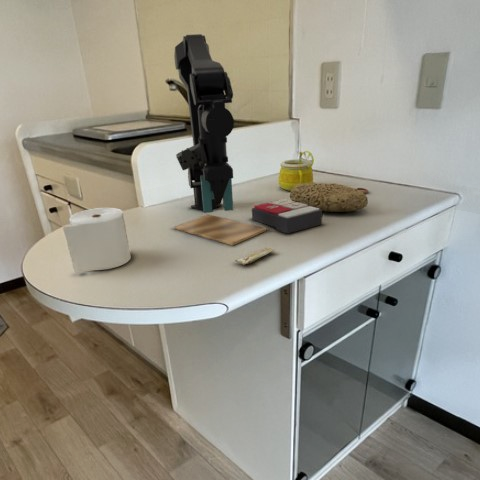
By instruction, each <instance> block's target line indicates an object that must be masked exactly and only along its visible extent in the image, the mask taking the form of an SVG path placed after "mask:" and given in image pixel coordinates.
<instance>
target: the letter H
mask: <svg viewBox="0 0 480 480" xmlns="http://www.w3.org/2000/svg"><path fill="white" fill-rule="evenodd" d="M200 178H201V189H202V200H203V210H204V211H203V210H202V211H203V213H204V214H205V213H213V209H212V200H211V199H214V195H213V191H212V188H211V187H210V183H209V182H208V181H206V180H204V177H203V175H201V176H200ZM232 179H233V178H232ZM232 179H229V181H228V184H227V187H226V190H225V192H224V195H223V198H222V203H223V204H222V206H223V209H224V212H228V211H233V210H234V200H233V182H232Z"/></svg>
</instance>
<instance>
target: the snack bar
mask: <svg viewBox="0 0 480 480" xmlns="http://www.w3.org/2000/svg"><path fill="white" fill-rule="evenodd" d="M275 250H276V249H275V248H272V247H271V248H269V247H264V249H261V250H256V251H254V252H251V253H248V254H246V255H245V256H242V257H241V258H239V259H234V262H236V263H238V264H241V265H243V266H246V265H249V264H252V263H254V262H255V261H257V260H259V259H260V258H263V257H264V256H267V255H269V254H270V253H272V252H274V251H275Z"/></svg>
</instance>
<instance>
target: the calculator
mask: <svg viewBox="0 0 480 480" xmlns="http://www.w3.org/2000/svg"><path fill="white" fill-rule="evenodd" d="M251 218H252V220H253V221H255V222H259V223H261V224H264V225H268V226H270V227H273V228H275V229H276V230H277V231H278V232H281V233H284V234H292V233H296V232H299V231H302V230H305V229H309V228H313V227H317V226H320V225H322V223H323V221H322V220H323V211H322V210H320V209H319V208H315V207H311V206H308V205H307V204H302V203H298V202H294V201H292V200H291V199H290V200H289V199H285V198H282V199H279V200H274V201H271V202H265V203H261V204H256V205H253V207H252V208H251Z"/></svg>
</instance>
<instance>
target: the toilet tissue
mask: <svg viewBox="0 0 480 480" xmlns="http://www.w3.org/2000/svg"><path fill="white" fill-rule="evenodd" d="M69 224H70V226H63V227H62V230H63V233H64V236H65V240H66V243H67V244H66V245H67V248H68V251H69V255H70V259H71V262H72V267H73V271H74V273H86V272H93V271H101V270H103V271H104V270H110V269H114V268H118V267H120V266H122V265H125V264H127V263H128V262H129V261H130V260H131V259H132V256H131V248H130V245H129V239H128V234H127V228H126V222H125V218H124V212H123V210H122V209H119V208H117V207H96V208H89V209H85V210H81V211H78V212H74V213H73V214H72V215H70V217H69Z"/></svg>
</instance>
